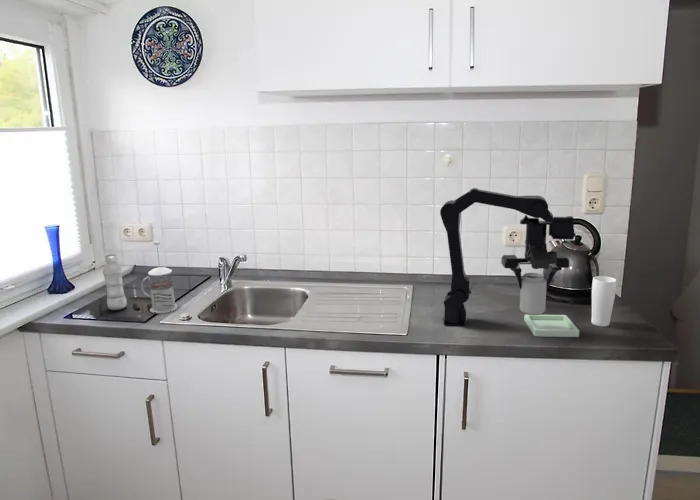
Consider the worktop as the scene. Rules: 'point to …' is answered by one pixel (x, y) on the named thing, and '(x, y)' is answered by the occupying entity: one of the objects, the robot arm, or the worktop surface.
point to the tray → (551, 326)
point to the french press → (161, 290)
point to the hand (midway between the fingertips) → (533, 288)
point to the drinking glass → (602, 300)
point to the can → (533, 294)
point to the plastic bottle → (114, 283)
